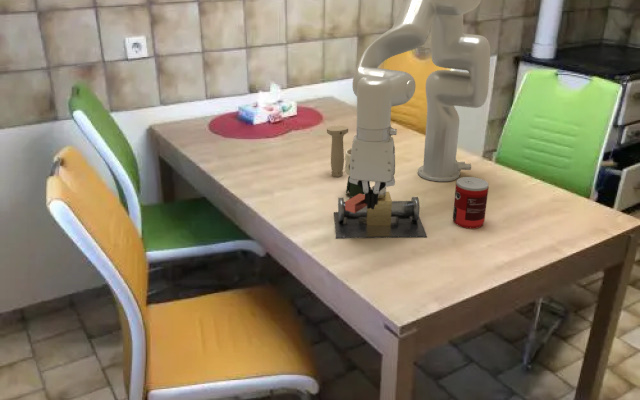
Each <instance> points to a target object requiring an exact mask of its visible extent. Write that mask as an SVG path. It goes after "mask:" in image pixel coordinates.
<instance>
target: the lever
mask: <svg viewBox="0 0 640 400" xmlns="http://www.w3.org/2000/svg"><path fill="white" fill-rule="evenodd" d="M371 188H372V189H371V190H373V188H374V185H373V186H371ZM386 192H387V187H384V188H383V189H382V190H380V191H379V192H378V198H384V197H385V196H386ZM344 202H345V210H347V211H350V212H353V213H356V212H357V211H359V210H361V209H362V208H364V207H366V206H367V204H365V194H358V195H356V196H354V197H351V198H349V199H347V200H345V201H344Z"/></svg>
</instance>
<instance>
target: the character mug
mask: <svg viewBox="0 0 640 400" xmlns="http://www.w3.org/2000/svg"><path fill="white" fill-rule="evenodd" d="M351 150H352V147H350V148H347V149H345V152H344V162H345V163H344V164H345V165H344V172H345V174H346V175H347V176H348V177H347V183H346V189H345V193H346V195H348V194H349V195H348V197H351V198H352V197H354V196H356V195H358V194H365V193H364V191H363V189H362V188H361V187H360V186H359V185H357V184H353V183H350V182H349V178H350V159H351Z"/></svg>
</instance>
